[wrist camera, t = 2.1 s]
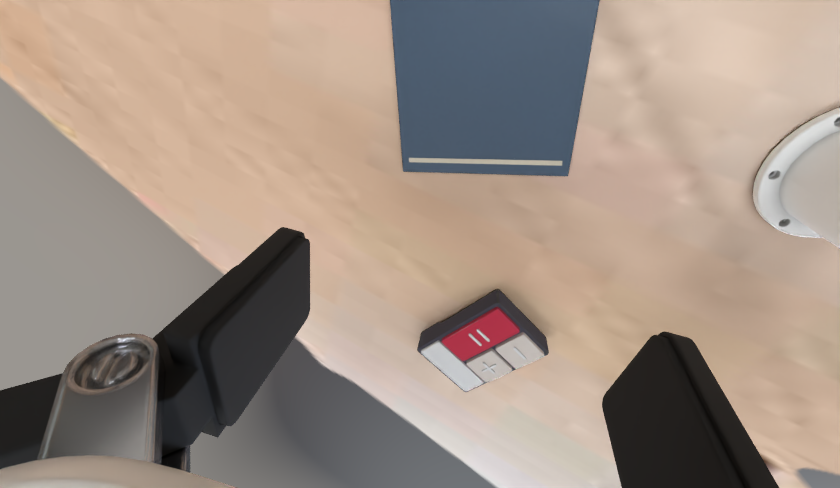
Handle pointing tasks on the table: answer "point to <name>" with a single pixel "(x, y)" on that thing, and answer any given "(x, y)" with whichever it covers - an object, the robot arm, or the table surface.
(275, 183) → the table surface
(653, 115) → the table surface
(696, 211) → the table surface
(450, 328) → the black buttoned block
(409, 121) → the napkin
